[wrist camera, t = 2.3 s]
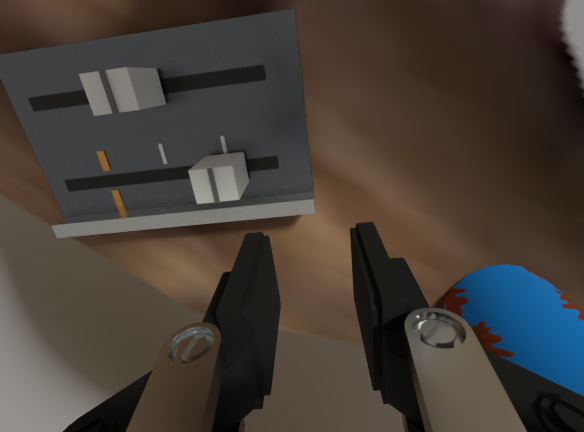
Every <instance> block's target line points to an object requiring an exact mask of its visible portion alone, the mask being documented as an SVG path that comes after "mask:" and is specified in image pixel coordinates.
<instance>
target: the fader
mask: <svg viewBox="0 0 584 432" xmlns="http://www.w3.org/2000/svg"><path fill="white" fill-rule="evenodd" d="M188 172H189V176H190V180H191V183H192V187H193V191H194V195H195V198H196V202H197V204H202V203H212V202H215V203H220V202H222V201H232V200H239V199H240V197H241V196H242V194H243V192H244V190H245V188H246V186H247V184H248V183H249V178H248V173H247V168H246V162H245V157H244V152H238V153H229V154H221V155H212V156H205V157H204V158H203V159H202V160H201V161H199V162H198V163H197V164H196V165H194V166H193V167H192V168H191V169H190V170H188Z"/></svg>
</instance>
